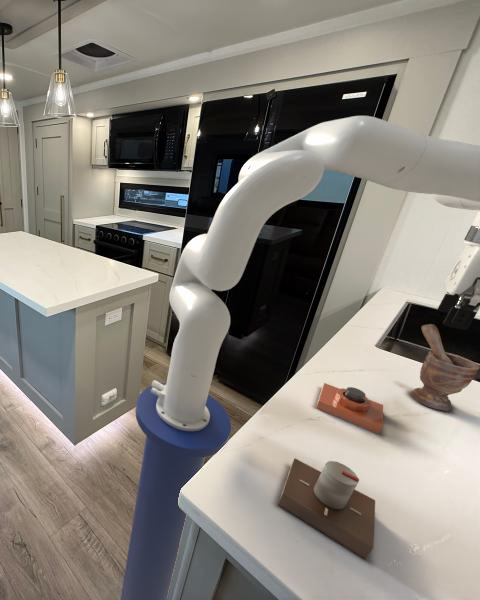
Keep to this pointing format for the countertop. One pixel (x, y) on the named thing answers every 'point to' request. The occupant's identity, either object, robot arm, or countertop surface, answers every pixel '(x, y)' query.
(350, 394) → the dark grey push button
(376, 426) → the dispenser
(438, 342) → the mortar and pestle
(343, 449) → the countertop surface
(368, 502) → the lock panel
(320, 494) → the lock knob
